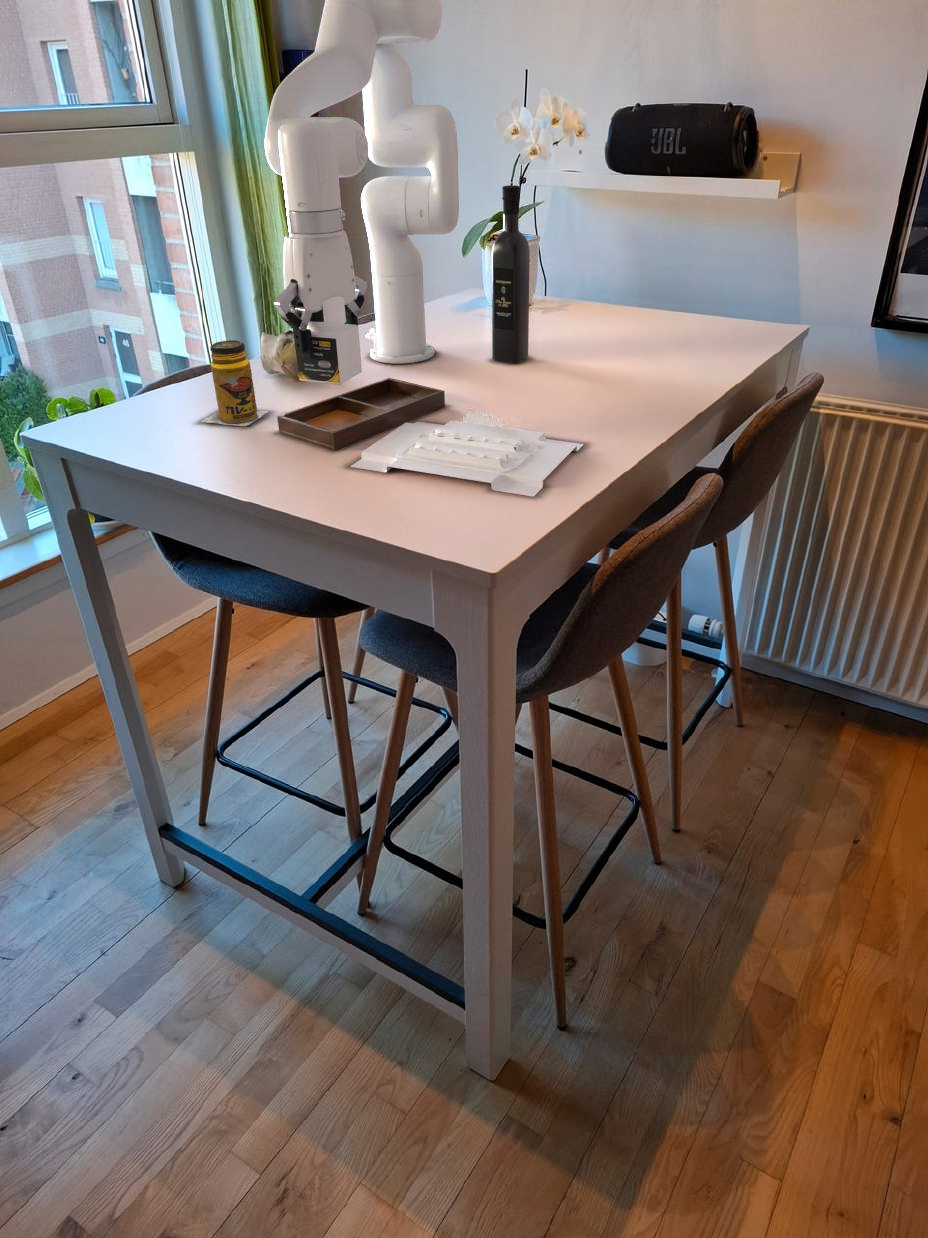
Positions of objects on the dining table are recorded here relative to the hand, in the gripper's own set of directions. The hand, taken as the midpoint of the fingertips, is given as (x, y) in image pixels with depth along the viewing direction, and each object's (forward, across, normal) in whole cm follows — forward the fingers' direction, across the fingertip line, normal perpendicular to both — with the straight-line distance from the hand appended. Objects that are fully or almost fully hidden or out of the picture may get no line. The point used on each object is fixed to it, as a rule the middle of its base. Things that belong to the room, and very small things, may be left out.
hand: (328, 349), depth 132 cm
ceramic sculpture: (+13, -15, -27) cm, 34 cm away
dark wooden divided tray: (+12, -6, 0) cm, 14 cm away
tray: (+13, -4, +24) cm, 27 cm away
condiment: (+13, +6, -18) cm, 23 cm away
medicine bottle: (+4, 0, 0) cm, 4 cm away
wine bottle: (+12, -47, -2) cm, 49 cm away
